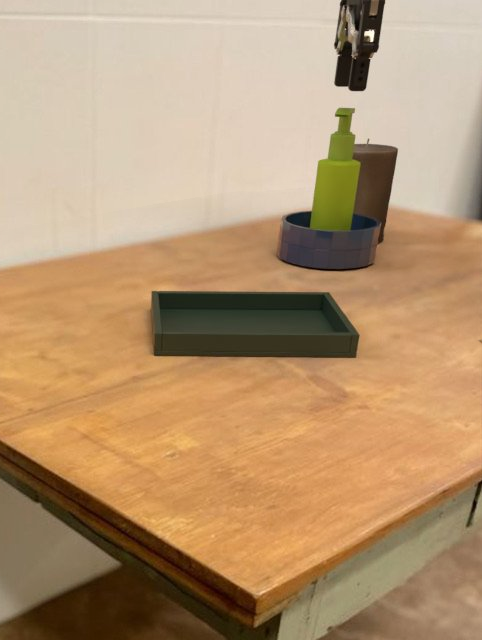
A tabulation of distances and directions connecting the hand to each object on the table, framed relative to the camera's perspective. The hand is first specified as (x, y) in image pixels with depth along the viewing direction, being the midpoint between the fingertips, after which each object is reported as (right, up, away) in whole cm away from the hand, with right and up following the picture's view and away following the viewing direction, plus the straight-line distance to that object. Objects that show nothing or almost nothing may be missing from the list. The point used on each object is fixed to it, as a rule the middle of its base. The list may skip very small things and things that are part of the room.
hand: (349, 88), depth 110 cm
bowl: (0, -19, +12) cm, 23 cm away
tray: (-17, -37, -17) cm, 44 cm away
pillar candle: (+7, -13, +23) cm, 27 cm away
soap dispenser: (0, -19, +12) cm, 23 cm away
